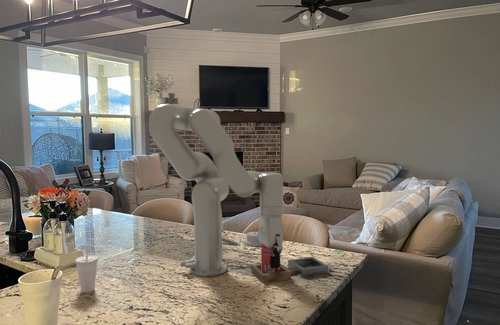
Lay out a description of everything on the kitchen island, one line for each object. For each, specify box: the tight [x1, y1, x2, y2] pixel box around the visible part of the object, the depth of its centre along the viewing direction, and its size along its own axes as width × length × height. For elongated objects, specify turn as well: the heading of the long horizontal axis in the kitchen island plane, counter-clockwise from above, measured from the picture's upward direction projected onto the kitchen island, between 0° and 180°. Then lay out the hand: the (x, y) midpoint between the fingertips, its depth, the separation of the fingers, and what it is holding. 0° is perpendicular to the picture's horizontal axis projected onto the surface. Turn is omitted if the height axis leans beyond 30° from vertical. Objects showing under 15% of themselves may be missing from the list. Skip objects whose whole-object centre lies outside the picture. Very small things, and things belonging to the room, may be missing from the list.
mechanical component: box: [243, 231, 262, 247], centre depth 160 cm, size 10×4×10 cm
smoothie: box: [74, 244, 99, 294], centre depth 111 cm, size 6×6×14 cm
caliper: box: [222, 236, 241, 247], centre depth 160 cm, size 20×1×6 cm, turn 67°
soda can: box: [260, 243, 280, 274], centre depth 123 cm, size 6×6×12 cm
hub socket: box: [286, 256, 329, 278], centre depth 128 cm, size 14×10×2 cm
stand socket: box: [250, 263, 292, 284], centre depth 124 cm, size 10×10×2 cm
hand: (270, 263), depth 123 cm, fingers closed on soda can, 6 cm apart
